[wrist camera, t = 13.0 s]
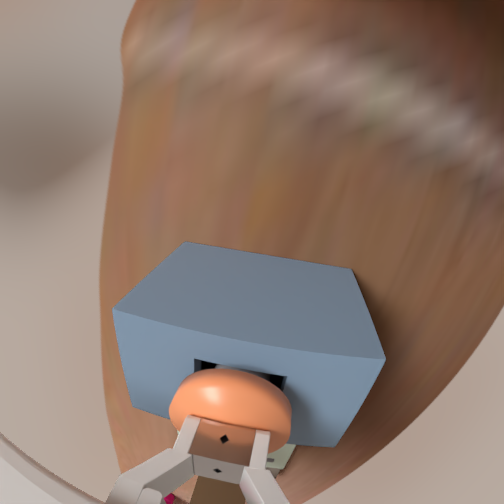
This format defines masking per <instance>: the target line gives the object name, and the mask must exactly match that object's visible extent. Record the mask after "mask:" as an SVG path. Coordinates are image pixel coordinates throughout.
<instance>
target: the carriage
mask: <svg viewBox="0 0 504 504" xmlns="http://www.w3.org/2000/svg"><path fill="white" fill-rule="evenodd" d="M177 431H178V430H177ZM178 435H179V431H178ZM295 446H296V445H294V444H285V445H284V446H283V447H281V448H280V449H278V450H276V451H274V452H272V453H269V454H268V456H267V463H266V467H270V468H278V469H284V467H285V465H286V463H287V461H288V459H289V458H290V456H291V454H292V452H293V450H294V448H295ZM239 485H240V484H235V483H230V482H225V481H221V480H217V479H212V478H207V477H203V476H198V479H197V482H196V485H195V488H194V491H193V495H192V498H191V501H190V504H245V497H244V495H243V493H242V491H241V488H240V486H239Z"/></svg>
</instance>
